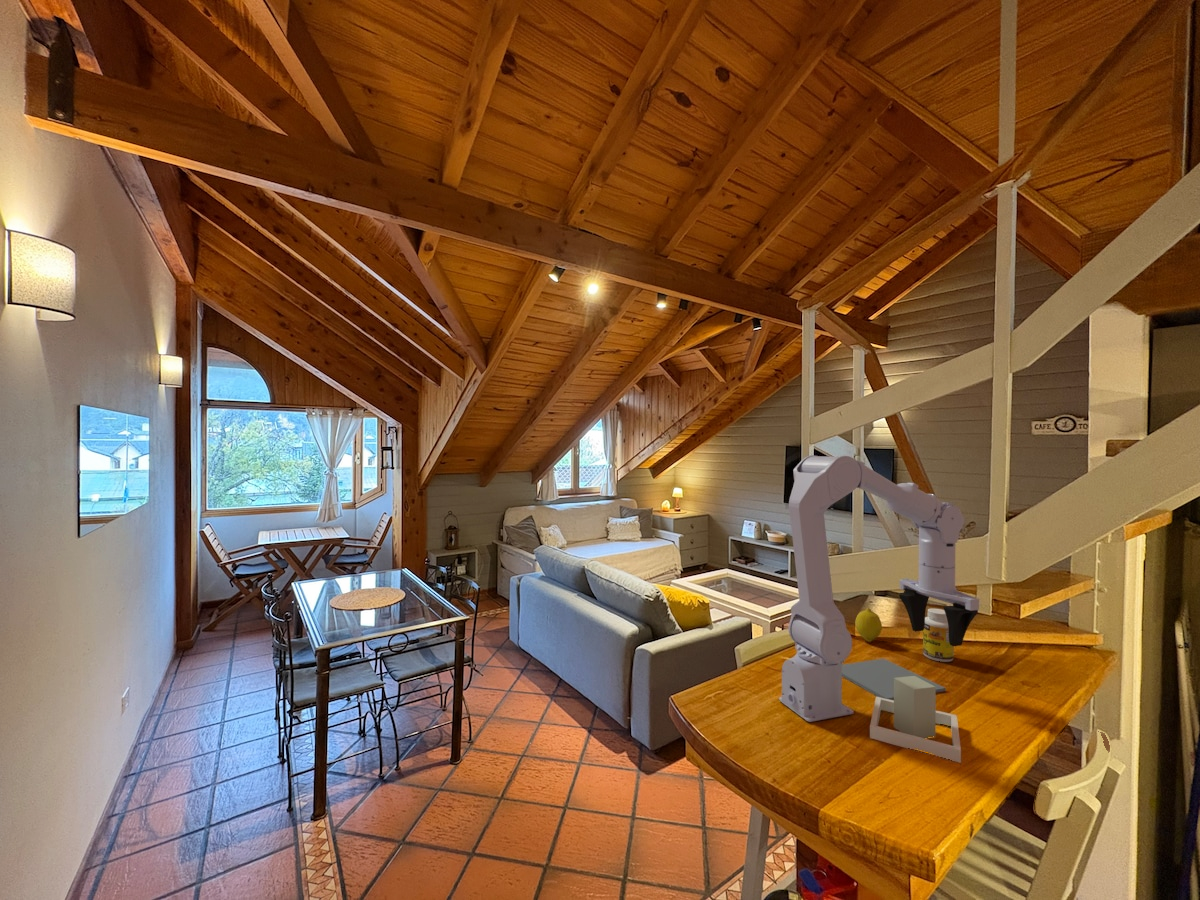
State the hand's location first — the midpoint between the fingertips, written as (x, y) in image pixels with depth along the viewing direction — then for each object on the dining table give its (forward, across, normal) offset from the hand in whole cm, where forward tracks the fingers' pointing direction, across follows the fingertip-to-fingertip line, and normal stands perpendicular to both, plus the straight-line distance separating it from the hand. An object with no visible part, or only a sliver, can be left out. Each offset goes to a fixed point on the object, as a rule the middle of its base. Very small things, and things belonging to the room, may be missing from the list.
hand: (936, 637), depth 95 cm
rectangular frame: (+10, -10, +16) cm, 21 cm away
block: (+10, -10, +16) cm, 21 cm away
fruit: (+10, +24, -8) cm, 27 cm away
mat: (+10, +6, +5) cm, 13 cm away
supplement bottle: (+10, +12, -15) cm, 21 cm away
